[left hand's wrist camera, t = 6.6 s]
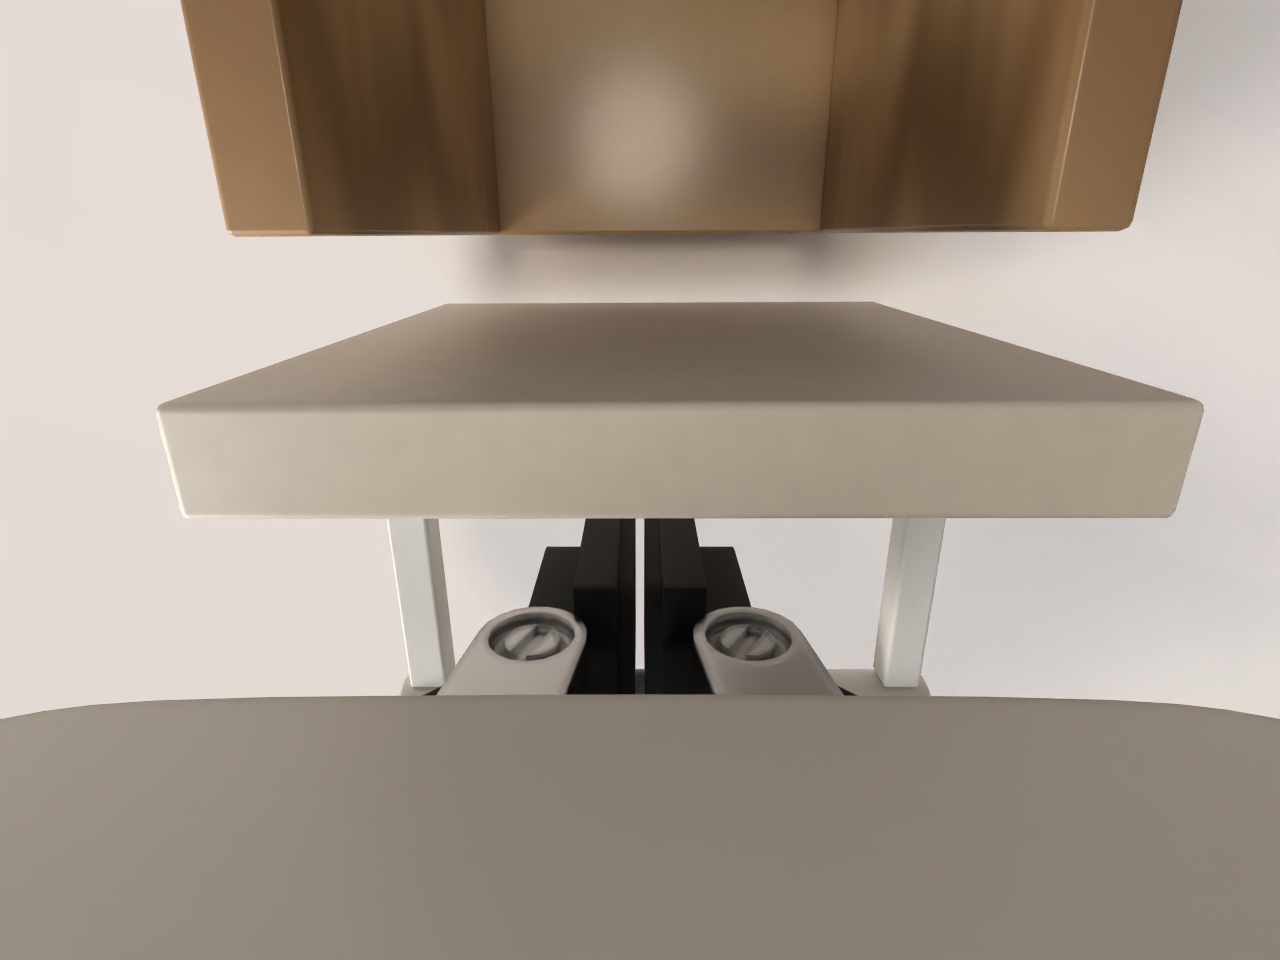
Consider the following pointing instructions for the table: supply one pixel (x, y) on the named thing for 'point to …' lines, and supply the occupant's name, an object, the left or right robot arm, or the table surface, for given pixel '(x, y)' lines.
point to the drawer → (678, 332)
